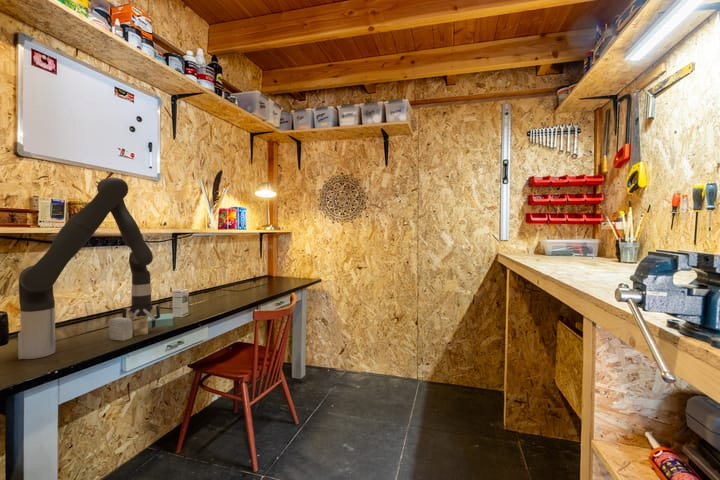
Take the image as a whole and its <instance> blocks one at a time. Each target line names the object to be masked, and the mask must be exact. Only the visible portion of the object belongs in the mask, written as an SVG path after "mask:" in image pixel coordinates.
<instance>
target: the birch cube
mask: <svg viewBox="0 0 720 480" xmlns="http://www.w3.org/2000/svg"><path fill="white" fill-rule="evenodd" d="M148 333H149V328H148V321H147V320H140V321H134V324H133V336H143V335H148Z"/></svg>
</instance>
